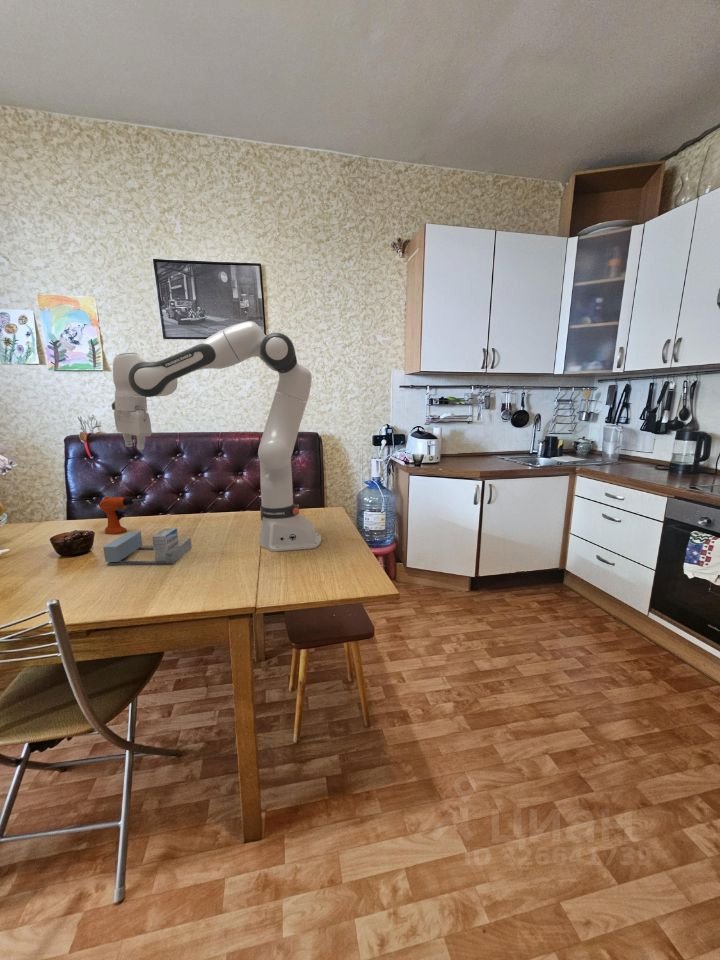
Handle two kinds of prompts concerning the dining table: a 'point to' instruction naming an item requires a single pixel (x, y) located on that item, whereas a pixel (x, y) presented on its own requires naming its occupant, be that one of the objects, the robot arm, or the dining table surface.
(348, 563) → the dining table surface
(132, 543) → the vise jaw
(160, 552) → the medicine box
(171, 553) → the vise
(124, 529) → the toy drill
